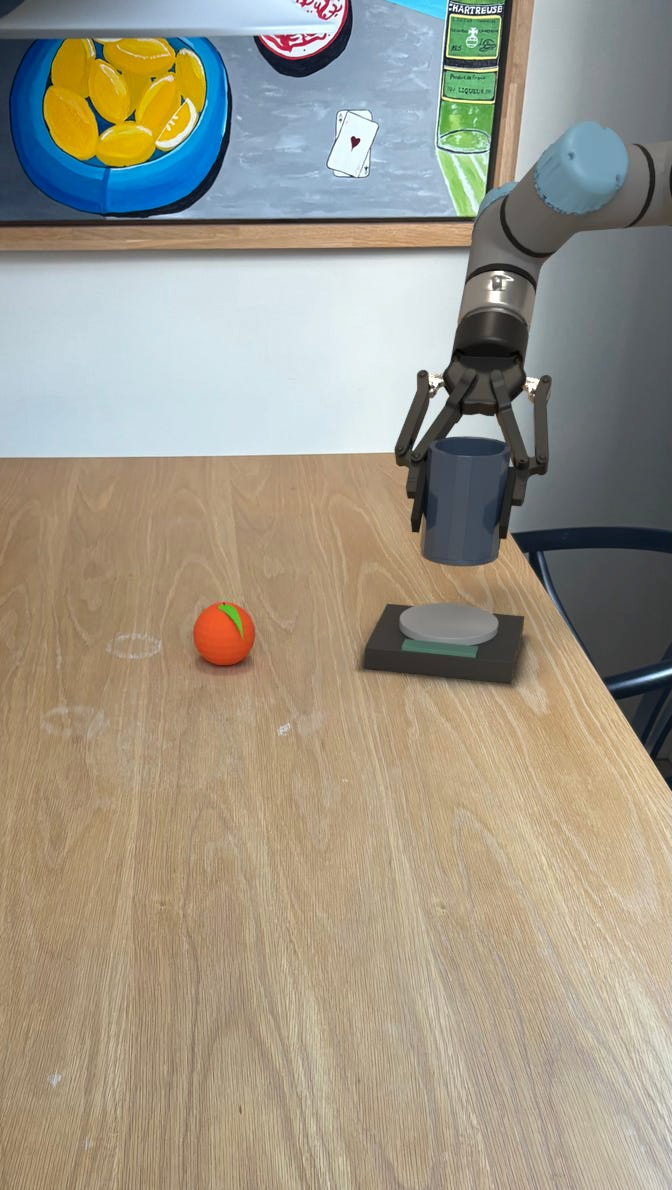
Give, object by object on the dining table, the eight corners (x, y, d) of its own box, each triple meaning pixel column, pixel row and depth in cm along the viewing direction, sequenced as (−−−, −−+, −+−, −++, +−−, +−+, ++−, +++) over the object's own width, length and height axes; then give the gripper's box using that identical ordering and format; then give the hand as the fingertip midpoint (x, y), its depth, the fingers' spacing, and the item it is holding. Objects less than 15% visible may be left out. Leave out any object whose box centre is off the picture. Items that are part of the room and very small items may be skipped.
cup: (501, 545, 130) (514, 438, 124) (494, 569, 123) (507, 458, 118) (426, 539, 132) (435, 434, 126) (414, 562, 126) (423, 453, 120)
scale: (522, 636, 143) (525, 607, 141) (510, 683, 132) (514, 653, 130) (385, 623, 147) (387, 595, 145) (363, 668, 136) (365, 638, 134)
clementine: (270, 671, 136) (271, 610, 132) (215, 683, 133) (214, 621, 129) (237, 646, 142) (237, 587, 138) (183, 658, 139) (181, 598, 136)
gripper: (390, 304, 127) (352, 503, 122) (600, 309, 121) (568, 518, 117) (395, 349, 134) (359, 539, 129) (593, 356, 128) (563, 555, 124)
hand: (458, 529), depth 123 cm, fingers closed on cup, 8 cm apart
